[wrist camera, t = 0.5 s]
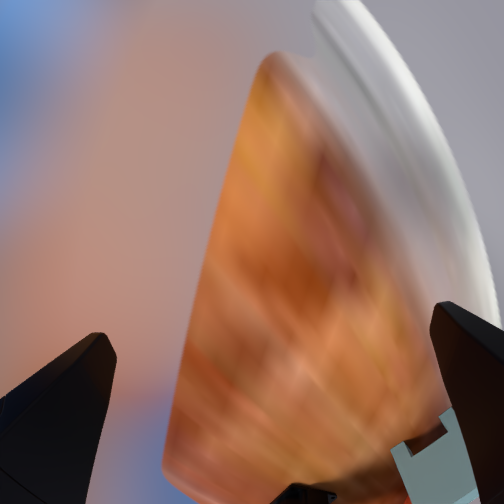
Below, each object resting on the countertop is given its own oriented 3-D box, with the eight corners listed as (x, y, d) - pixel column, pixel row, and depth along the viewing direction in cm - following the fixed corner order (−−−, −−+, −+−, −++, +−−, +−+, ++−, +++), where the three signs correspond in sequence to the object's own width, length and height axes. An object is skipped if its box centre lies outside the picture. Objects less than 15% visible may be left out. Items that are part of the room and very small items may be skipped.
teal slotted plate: (397, 458, 28) (426, 529, 17) (390, 449, 28) (419, 523, 17) (456, 417, 27) (500, 479, 16) (451, 406, 27) (497, 471, 16)
